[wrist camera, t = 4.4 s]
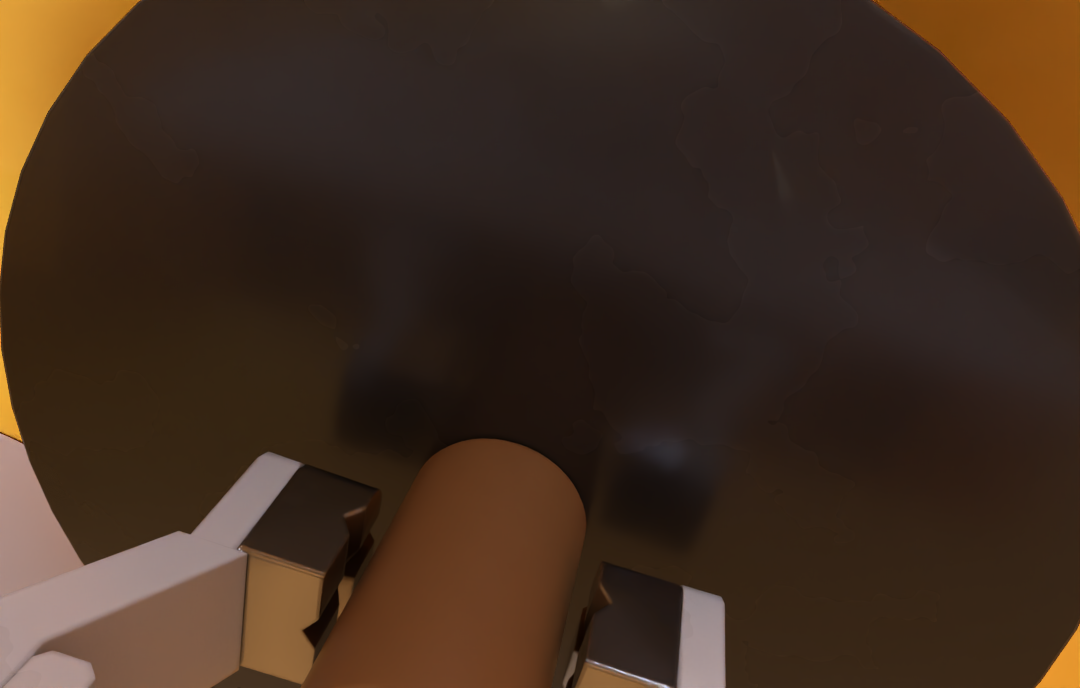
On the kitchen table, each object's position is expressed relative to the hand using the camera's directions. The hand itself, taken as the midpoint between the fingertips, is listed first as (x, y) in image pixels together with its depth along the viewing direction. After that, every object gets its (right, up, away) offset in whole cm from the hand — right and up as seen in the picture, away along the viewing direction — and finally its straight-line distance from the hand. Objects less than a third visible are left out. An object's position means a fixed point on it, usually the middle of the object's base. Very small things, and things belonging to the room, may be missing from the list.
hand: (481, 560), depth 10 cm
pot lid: (0, +1, +1) cm, 2 cm away
